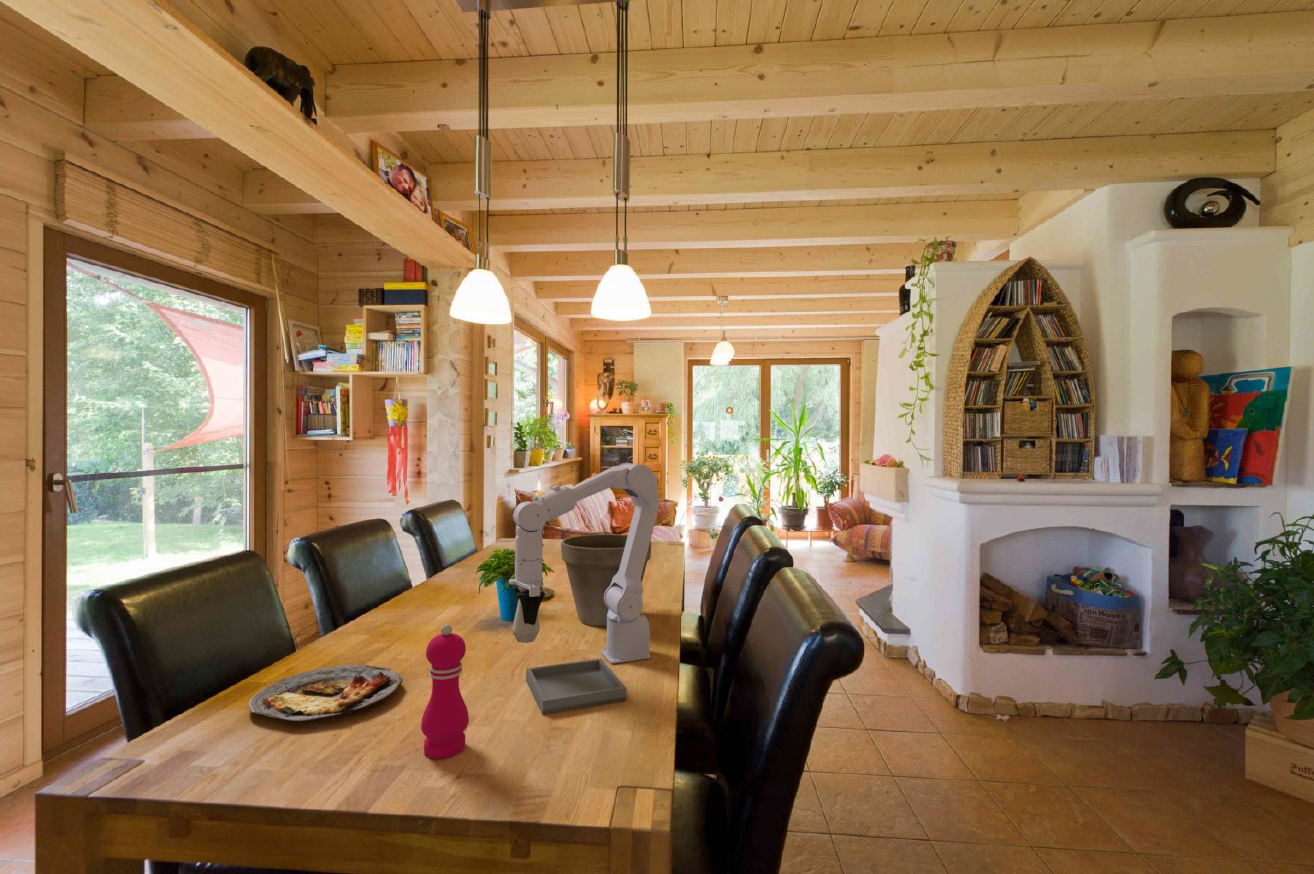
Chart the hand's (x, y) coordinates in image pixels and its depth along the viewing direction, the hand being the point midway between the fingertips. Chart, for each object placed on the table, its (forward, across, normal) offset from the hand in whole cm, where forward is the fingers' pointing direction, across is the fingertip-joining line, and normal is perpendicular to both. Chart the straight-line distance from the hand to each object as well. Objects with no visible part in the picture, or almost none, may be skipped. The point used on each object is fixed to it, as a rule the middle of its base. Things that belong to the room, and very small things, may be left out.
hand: (528, 621), depth 129 cm
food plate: (+11, +1, -37) cm, 39 cm away
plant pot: (+11, -29, +26) cm, 40 cm away
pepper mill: (+10, +28, -18) cm, 35 cm away
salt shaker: (+4, 0, 0) cm, 4 cm away
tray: (+10, +13, +7) cm, 18 cm away
